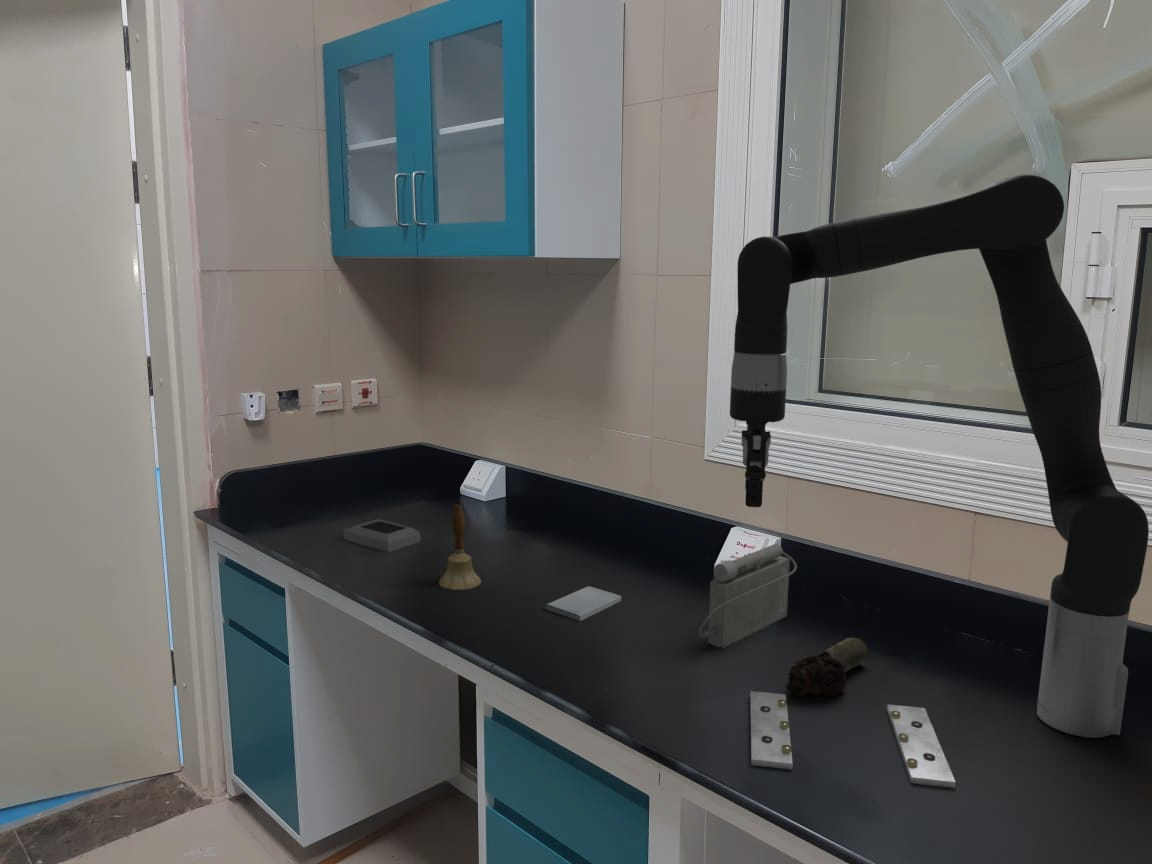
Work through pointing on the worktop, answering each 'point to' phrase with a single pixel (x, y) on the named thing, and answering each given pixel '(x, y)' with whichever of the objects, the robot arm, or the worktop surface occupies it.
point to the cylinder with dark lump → (827, 669)
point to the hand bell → (459, 559)
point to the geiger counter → (747, 595)
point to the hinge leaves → (907, 723)
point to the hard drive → (583, 603)
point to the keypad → (382, 535)
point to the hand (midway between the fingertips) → (753, 498)
